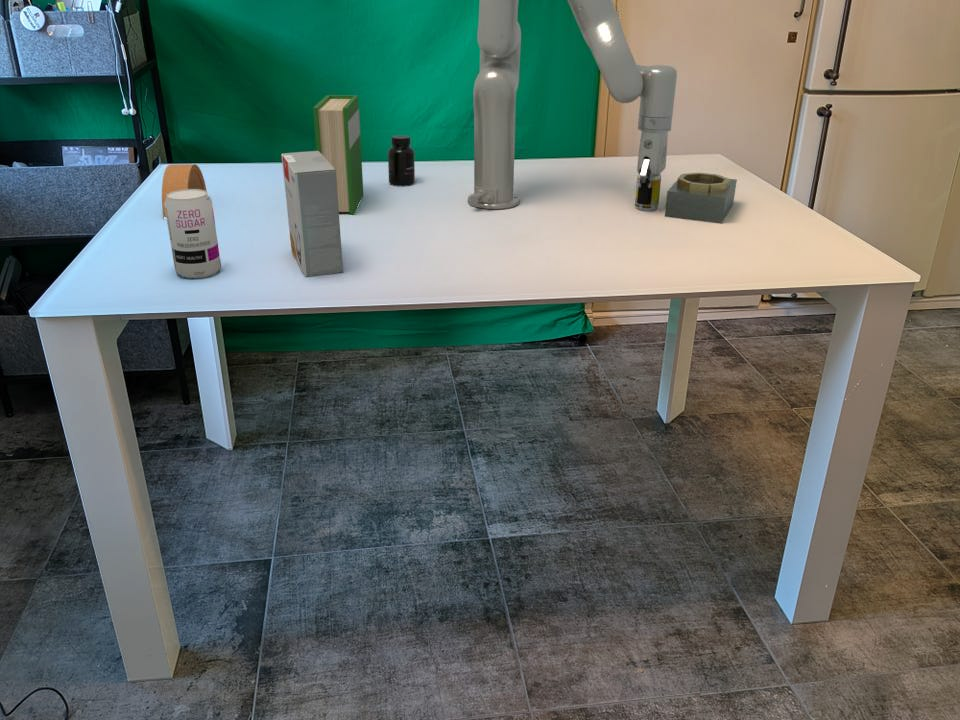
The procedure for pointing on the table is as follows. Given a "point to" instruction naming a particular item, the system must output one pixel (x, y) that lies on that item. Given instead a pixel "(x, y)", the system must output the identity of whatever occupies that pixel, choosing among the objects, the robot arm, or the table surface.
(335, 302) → the table surface
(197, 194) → the supplement can
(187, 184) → the arch
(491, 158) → the robot arm
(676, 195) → the grey block with ring
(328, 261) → the hard drive box
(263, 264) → the table surface
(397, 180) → the supplement bottle
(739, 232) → the table surface
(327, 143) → the hardback book
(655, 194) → the supplement bottle
